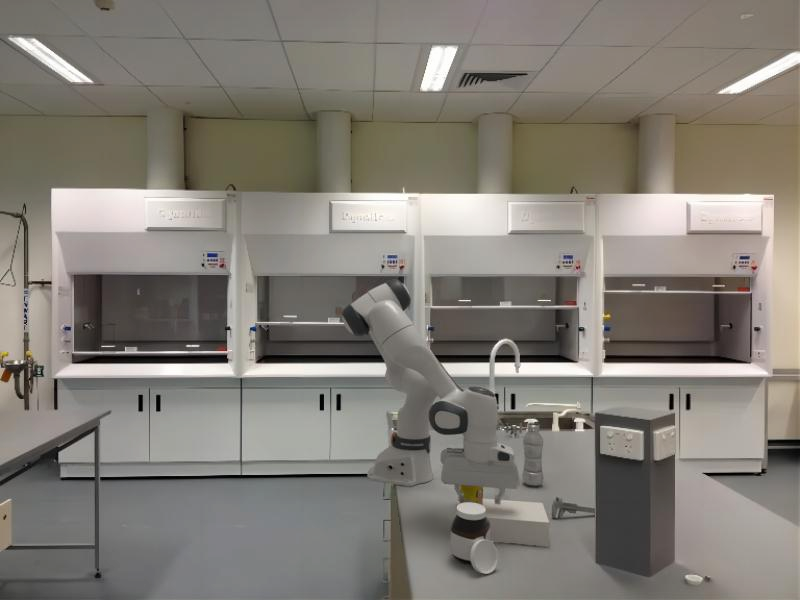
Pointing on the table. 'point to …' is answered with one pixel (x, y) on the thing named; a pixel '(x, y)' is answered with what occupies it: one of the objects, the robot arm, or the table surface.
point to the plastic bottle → (533, 456)
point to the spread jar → (473, 538)
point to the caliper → (568, 508)
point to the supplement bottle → (470, 493)
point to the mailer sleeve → (517, 522)
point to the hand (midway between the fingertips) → (479, 502)
